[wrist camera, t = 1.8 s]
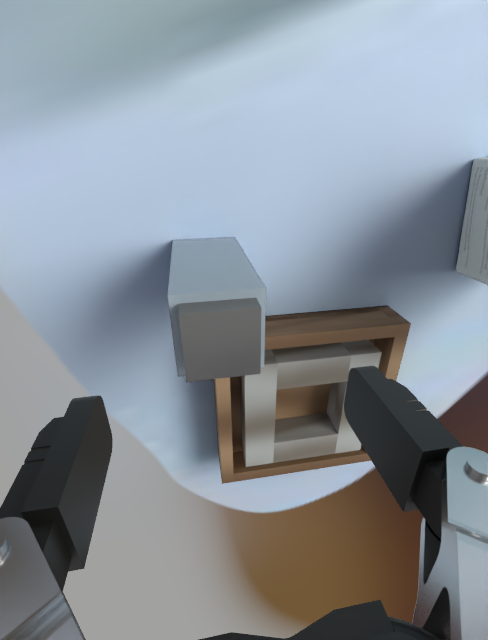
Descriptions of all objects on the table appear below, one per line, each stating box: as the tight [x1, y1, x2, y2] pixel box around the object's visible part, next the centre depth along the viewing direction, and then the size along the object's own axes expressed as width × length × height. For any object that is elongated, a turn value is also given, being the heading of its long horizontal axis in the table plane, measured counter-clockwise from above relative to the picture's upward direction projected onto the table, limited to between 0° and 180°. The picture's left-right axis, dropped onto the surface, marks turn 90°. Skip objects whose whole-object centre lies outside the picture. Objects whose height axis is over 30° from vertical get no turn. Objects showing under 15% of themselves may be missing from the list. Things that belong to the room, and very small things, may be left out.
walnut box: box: [214, 306, 411, 484], centre depth 27 cm, size 14×14×3 cm
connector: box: [168, 237, 266, 382], centre depth 18 cm, size 4×4×10 cm
